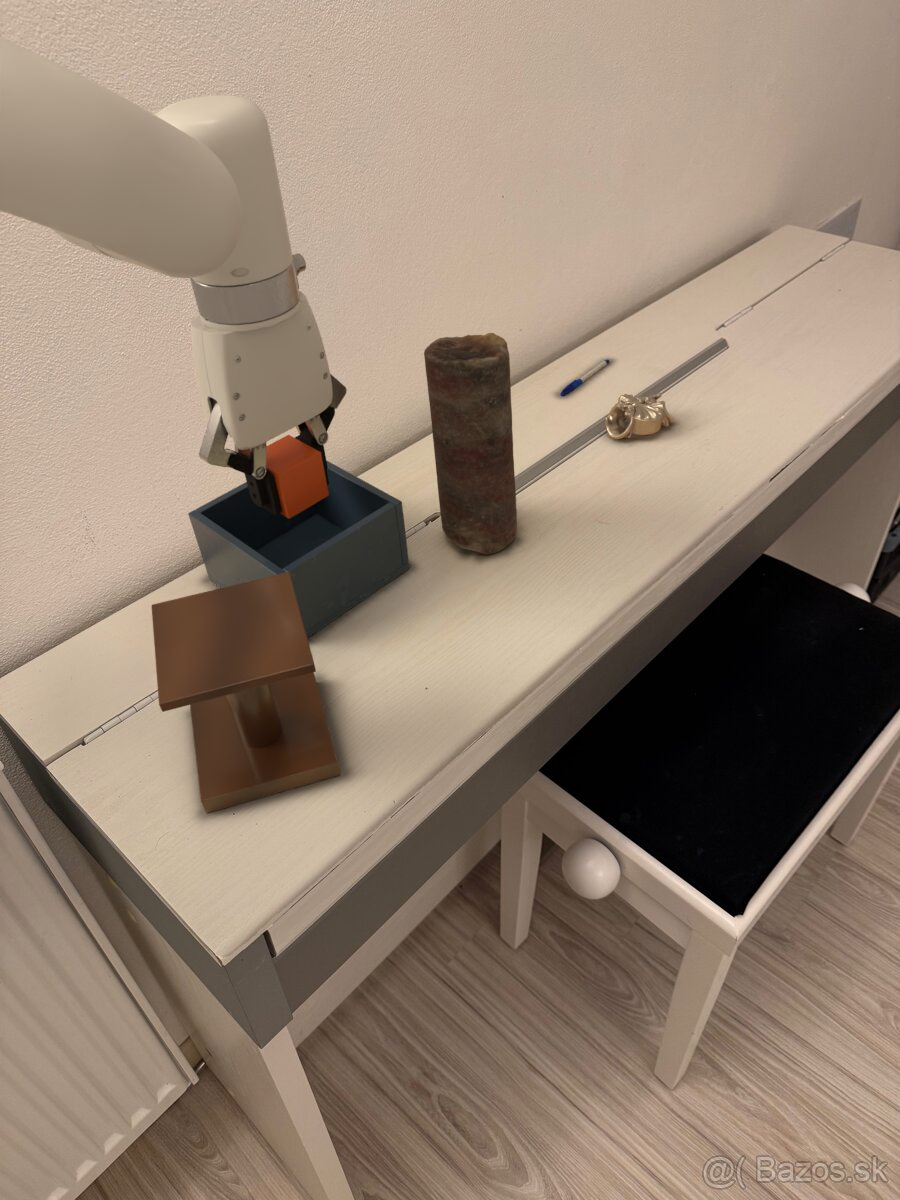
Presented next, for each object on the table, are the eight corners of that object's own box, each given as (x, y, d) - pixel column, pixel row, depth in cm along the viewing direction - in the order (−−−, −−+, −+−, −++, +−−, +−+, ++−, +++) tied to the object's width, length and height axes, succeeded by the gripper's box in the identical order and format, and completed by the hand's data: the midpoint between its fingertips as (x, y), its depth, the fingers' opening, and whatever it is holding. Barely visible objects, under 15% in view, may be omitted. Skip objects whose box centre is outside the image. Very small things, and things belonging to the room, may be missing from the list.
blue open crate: (297, 645, 75) (280, 577, 69) (209, 579, 82) (187, 513, 77) (410, 568, 81) (402, 501, 76) (319, 513, 89) (306, 448, 84)
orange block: (289, 519, 74) (278, 475, 70) (257, 499, 76) (246, 456, 73) (329, 495, 76) (321, 451, 73) (297, 477, 78) (288, 434, 75)
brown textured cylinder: (428, 548, 84) (409, 356, 70) (456, 505, 88) (443, 319, 75) (502, 563, 81) (497, 368, 68) (527, 518, 86) (527, 328, 73)
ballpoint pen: (565, 399, 104) (565, 391, 103) (559, 397, 104) (559, 389, 104) (609, 363, 110) (610, 356, 109) (603, 362, 110) (604, 355, 109)
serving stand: (205, 813, 62) (158, 704, 54) (194, 713, 69) (150, 604, 61) (340, 775, 64) (314, 663, 56) (315, 681, 71) (289, 571, 63)
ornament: (649, 404, 101) (652, 376, 99) (683, 431, 96) (687, 402, 94) (589, 422, 99) (591, 393, 97) (621, 450, 94) (624, 421, 92)
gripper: (304, 245, 70) (338, 439, 82) (119, 318, 61) (187, 522, 73) (366, 265, 66) (391, 467, 78) (176, 347, 57) (238, 558, 69)
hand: (292, 492), depth 76 cm, fingers closed on orange block, 4 cm apart
